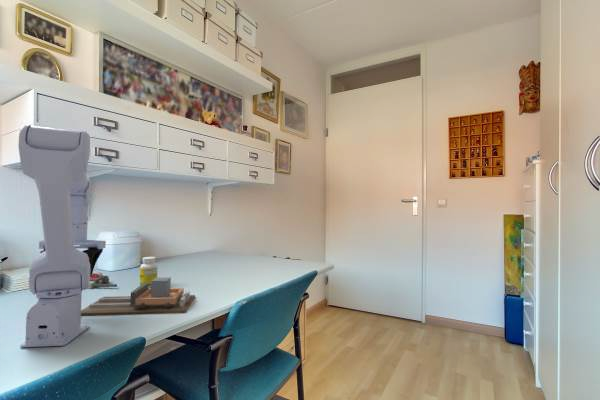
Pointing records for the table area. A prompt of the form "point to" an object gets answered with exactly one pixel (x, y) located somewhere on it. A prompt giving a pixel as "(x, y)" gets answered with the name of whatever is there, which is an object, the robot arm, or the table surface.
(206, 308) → the table surface
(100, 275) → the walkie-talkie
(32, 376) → the table surface
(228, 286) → the table surface
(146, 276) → the supplement bottle
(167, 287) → the block
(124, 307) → the track
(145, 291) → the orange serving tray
